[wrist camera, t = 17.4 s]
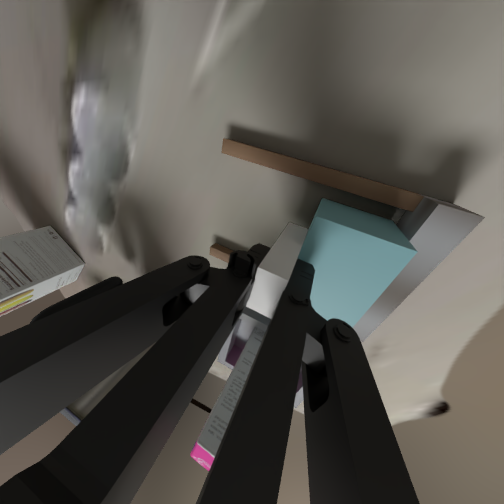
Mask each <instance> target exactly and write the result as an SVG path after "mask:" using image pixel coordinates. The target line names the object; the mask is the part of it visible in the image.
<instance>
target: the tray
mask: <svg viewBox="0 0 504 504" xmlns="http://www.w3.org/2000/svg"><path fill="white" fill-rule="evenodd" d="M246 305H247V303H246ZM246 305H245V307H244V309H243V312H242V315H241V316H240V318H239V320H238V322H237V323H236V325H235V327H234V328H233V330H232V332H231V333H230V335H229V337H228V338H227V340H226V342H225V344H224V345H223V347H222V349H221V350H220V352H219V356H218V360H217V361H218V362H220V363H222V364H223V365H225V366H227V367H228V368H230V369H232V370H233V368H234V366H235V364H236V362H237V360H238V359H239V357H240V355H241V353H242V351H243V349H244V347H245V345H246V343H247V341H248V339H249V338H250V336H251V334H252V332H253V330H254V328H255V327H257V328H258V329H260V330H262V331H264V332H266V329H267V327H268V325H269V323H270V320H271V319H270V318H268V317H266V316H264V315H262V314H260V313H258V312H256V311H254V310H252V309H250V308H248V307H246ZM303 400H304V399H303V383H302V368H300V374H299V380H298V385H297V391H296V397H295V402H294V407H295V408H296V407H297V406H298V405H299V404H300V403H301V402H302V401H303Z"/></svg>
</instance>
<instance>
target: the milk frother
mask: <svg viewBox="0 0 504 504" xmlns="http://www.w3.org/2000/svg"><path fill="white" fill-rule="evenodd" d="M122 284H123V281H122V279H120V278H119V277H111V278H108V279H106V280H104V281H102V282H100V283H98V284H96V285H93V286H91V287H89V288H87V289H85V290H83V291H81V292H79V293H77V294H75V295H73V296H70V297H68V298H66V299H64V300H62V301H60V302H58V303H56V304H54V305H52V306H50V307H48V308H46V309H45V310H43V311H41V312H40V313H39V314H38V315H37V316H35V317H34V318H33V319H32V321H31V322H30V324H31V323H33V322H35V321H38V320H40V319H42V318H45V317H47V316H49V315H52V314H54V313H56V312H59V311H61V310H63V309H66V308H68V307H71V306H73V305H75V304H78V303H80V302H82V301H85V300H87V299H89V298H92V297H94V296H96V295H99V294H101V293H103V292H106V291H108V290H110V289H113V288H115V287H117V286H120V285H122ZM155 343H156V342H155ZM155 343H154V344H155ZM154 344H153V345H154ZM153 345H151V346H150V347H148V348H147V349H146V350H144V351H143V352H141V353H140V354H139V355H137V356H136V357H135V358H133V359H132V360H130V361H129V362H128V363H126V364H125V365H124V366H122V367H121V368H119V369H118V370H117V371H115V372H114V373H113V374H111V375H110V376H108V377H107V378H106V379H104V380H103V381H101V382H100V383H99V384H97V385H96V386H95V387H93V388H92V389H90V390H89V391H88V392H86V393H85V394H84V395H82V396H81V397H79V398H78V399H77V400H75V401H74V402H73V403H71V404H70V405H68V406H67V407H66V408H64V409H63V410H62V411H60V413H62V414H63V415H64V416H65V417H66V418H67V419H69V421H71V422H72V423H73V424H74V425H76V426H77V425H78V424H79V423H80V422H81V421H82V420H83V419H84V418H85V417H86V415H87V414H88V413H89V412H90V411H91V410H92V409H93V408H94V407H95V406H96V405H97V404H98V403H99V402H100V401H101V400H102V399H103V398H104V397H105V396H106V394H107V393H108V392H109V391H110V390H111V389H112V388H113V387H114V386H115V385H116V384H117V383H118V382H119V381H120V380H121V379H122V378H123V377H124V376H125V374H126V373H127V372H128V371H129V370H130V369H131V368H132V367H133V366H134V365H135V364H136V363H137V362H138V361H139V360H140V359H141V358H142V357H143V356H144V355H145V353H146V352H147V351H148V350H149V349H150V348H151V347H152V346H153Z"/></svg>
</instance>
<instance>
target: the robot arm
mask: <svg viewBox="0 0 504 504" xmlns="http://www.w3.org/2000/svg"><path fill="white" fill-rule="evenodd" d="M307 232H308V229H307V228H304V227H302V226H299V225H296V224H294V223H291V222H289V223H288V225H287V226H286V228H285V229H284V230H283V232H282V233H281V235H280V236H279V238H278V239H277V240H276V242H275V243H274V245H273V246H272V248H269V247H267V246H265V245H262V244H260V243H259V244H256V245H253V246H252V248H251V249H250V250H249V251H248V252H246V251H240V250H238V251H233V252H232V253H230V257H229V263H228V267H227V268H226V269H218V268H213V267H210V263H209V261H208V260H207V259H206V258H204V257H201V256H188V257H185V258H183V259H181V260H178V261H176V262H174V263H171V264H169V265H167V266H164V267H162V268H159V269H157V270H155V271H152V272H150V273H148V274H145V275H143V276H141V277H138V278H136V279H134V280H131V281H129V282H127V283H124V284H122V285H120V286H117V287H115V288H113V289H110V290H108V291H106V292H103V293H101V294H99V295H96V296H94V297H92V298H89V299H87V300H85V301H82V302H80V303H78V304H75V305H73V306H71V307H68V308H66V309H63V310H61V311H59V312H56V313H54V314H52V315H49V316H47V317H45V318H42V319H40V320H38V321H35V322H33V323H31V324H29V325H26V326H24V327H22V328H19V329H17V330H14V331H12V332H10V333H7V334H5V335H3V336H0V455H1V454H2V453H4V452H5V451H6V450H8V449H9V448H11V447H12V446H13V445H15V444H16V443H17V442H19V441H20V440H21V439H23V438H24V437H26V436H27V435H28V434H30V433H31V432H32V431H34V430H35V429H37V428H38V427H39V426H41V425H42V424H44V423H45V422H46V421H48V420H49V419H50V418H52V417H53V416H55V415H56V414H57V413H59V412H60V411H62V410H63V409H64V408H66V407H67V406H68V405H70V404H71V403H73V402H74V401H75V400H77V399H78V398H79V397H81V396H82V395H84V394H85V393H86V392H88V391H89V390H90V389H92V388H93V387H95V386H96V385H97V384H99V383H100V382H101V381H103V380H104V379H106V378H107V377H108V376H110V375H111V374H113V373H114V372H115V371H117V370H118V369H119V368H121V367H122V366H124V365H125V364H126V363H128V362H129V361H130V360H132V359H133V358H135V357H136V356H137V355H139V354H140V353H141V352H143V351H144V350H146V349H147V348H148V347H150V346H151V345H153V344H154V343H155V342H156V343H155V344H154V345H153V346H152V347H151V348H150V349H149V350H148V351H147V352H146V353H145V355H144V356H143V357H142V358H141V359H140V360H139V361H138V362H137V363H136V364H135V365H134V366H133V367H132V368H131V369H130V370H129V371H128V372H127V373H126V374H125V376H124V377H123V378H122V379H121V380H120V381H119V382H118V383H117V384H116V385H115V386H114V387H113V388H112V389H111V390H110V391H109V392H108V393H107V394H106V396H105V397H104V398H103V399H102V400H101V401H100V402H99V403H98V404H97V405H96V406H95V407H94V408H93V409H92V410H91V411H90V412H89V413H88V414H87V415H86V417H85V418H84V419H83V420H82V421H81V422H80V423H79V424H78V425H77V426H76V427H75V428H74V429H73V430H72V431H71V432H70V433H69V435H67V436H66V438H65V439H64V440H63V441H62V442H61V443H60V444H59V445H58V446H57V447H56V448H55V449H54V450H53V451H52V452H51V453H50V454H48V455H47V456H46V457H44V458H43V459H42V460H41V461H39V462H37V463H36V464H34V465H32V466H31V467H29V468H27V469H25V470H23V471H22V472H20V473H18V474H16V475H15V476H13V477H12V478H11V479H9V480H8V481H7V482H6V483H4V484H3V485H2V486H0V504H130V503H131V501H132V500H133V498H134V496H135V494H136V493H137V491H138V489H139V488H140V486H141V484H142V483H143V481H144V479H145V477H146V476H147V474H148V472H149V471H150V469H151V467H152V466H153V464H154V462H155V460H156V459H157V457H158V455H159V454H160V452H161V450H162V449H163V447H164V445H165V443H166V442H167V440H168V439H169V437H170V435H171V433H172V432H173V430H174V428H175V427H176V425H177V423H178V421H179V420H180V418H181V416H182V415H183V413H184V411H185V410H186V408H187V406H188V405H189V403H190V401H191V400H192V398H193V396H194V394H195V393H196V391H197V389H198V388H199V386H200V384H201V383H202V380H203V379H204V377H205V376H206V374H207V372H208V371H209V369H210V367H211V366H212V364H213V362H214V361H215V359H216V357H217V355H218V354H219V352H220V350H221V349H222V347H223V345H224V344H225V342H226V340H227V338H228V337H229V335H230V333H231V332H232V330H233V328H234V327H235V325H236V323H237V322H238V320H239V318H240V316H241V315H242V312H243V309H244V307H245V305H246V303H247V305H246V307H248V308H250V309H252V310H254V311H256V312H258V313H260V314H262V315H264V316H266V317H268V318H270V319H271V320H270V323H269V325H268V327H267V329H266V332H265V334H264V337H263V339H262V342H261V344H260V347H259V349H258V352H257V354H256V357H255V359H254V362H253V364H252V367H251V369H250V371H249V374H248V376H247V379H246V381H245V384H244V386H243V389H242V391H241V394H240V396H239V399H238V401H237V404H236V406H235V408H234V411H233V413H232V416H231V418H230V421H229V423H228V426H227V428H226V431H225V433H224V436H223V438H222V440H221V443H220V445H219V448H218V450H217V453H216V455H215V458H214V460H213V463H212V465H211V468H210V470H209V473H208V475H207V477H206V480H205V482H204V485H203V487H202V490H201V492H200V495H199V497H198V500H197V502H196V504H277V499H278V493H279V487H280V482H281V476H282V470H283V465H284V459H285V453H286V447H287V442H288V436H289V431H290V425H291V419H292V414H293V408H294V402H295V397H296V391H297V385H298V380H299V374H300V368H302V383H303V399H304V414H305V429H306V445H307V461H308V475H309V492H310V504H419V501H418V498H417V496H416V493H415V490H414V487H413V485H412V482H411V479H410V476H409V473H408V471H407V468H406V465H405V462H404V460H403V457H402V454H401V451H400V449H399V446H398V443H397V441H396V438H395V435H394V432H393V430H392V426H391V424H390V421H389V418H388V415H387V413H386V410H385V407H384V404H383V402H382V399H381V396H380V393H379V391H378V388H377V385H376V382H375V380H374V377H373V374H372V371H371V369H370V366H369V363H368V360H367V358H366V355H365V352H364V349H363V347H362V344H361V341H360V338H359V336H358V334H357V333H356V331H355V330H354V329H353V328H352V327H351V326H350V325H349V324H348V323H346V322H345V321H342V320H340V319H336V318H332V319H329V320H328V321H327V320H326V319H325V318H323V317H322V316H321V315H319V314H318V313H317V312H316V311H315V310H314V309H313V307H312V304H311V300H310V295H311V290H312V285H313V279H314V274H315V269H314V267H313V265H312V264H310V263H308V262H305V261H303V260H300V259H298V255H299V253H300V250H301V247H302V245H303V242H304V240H305V237H306V234H307Z"/></svg>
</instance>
